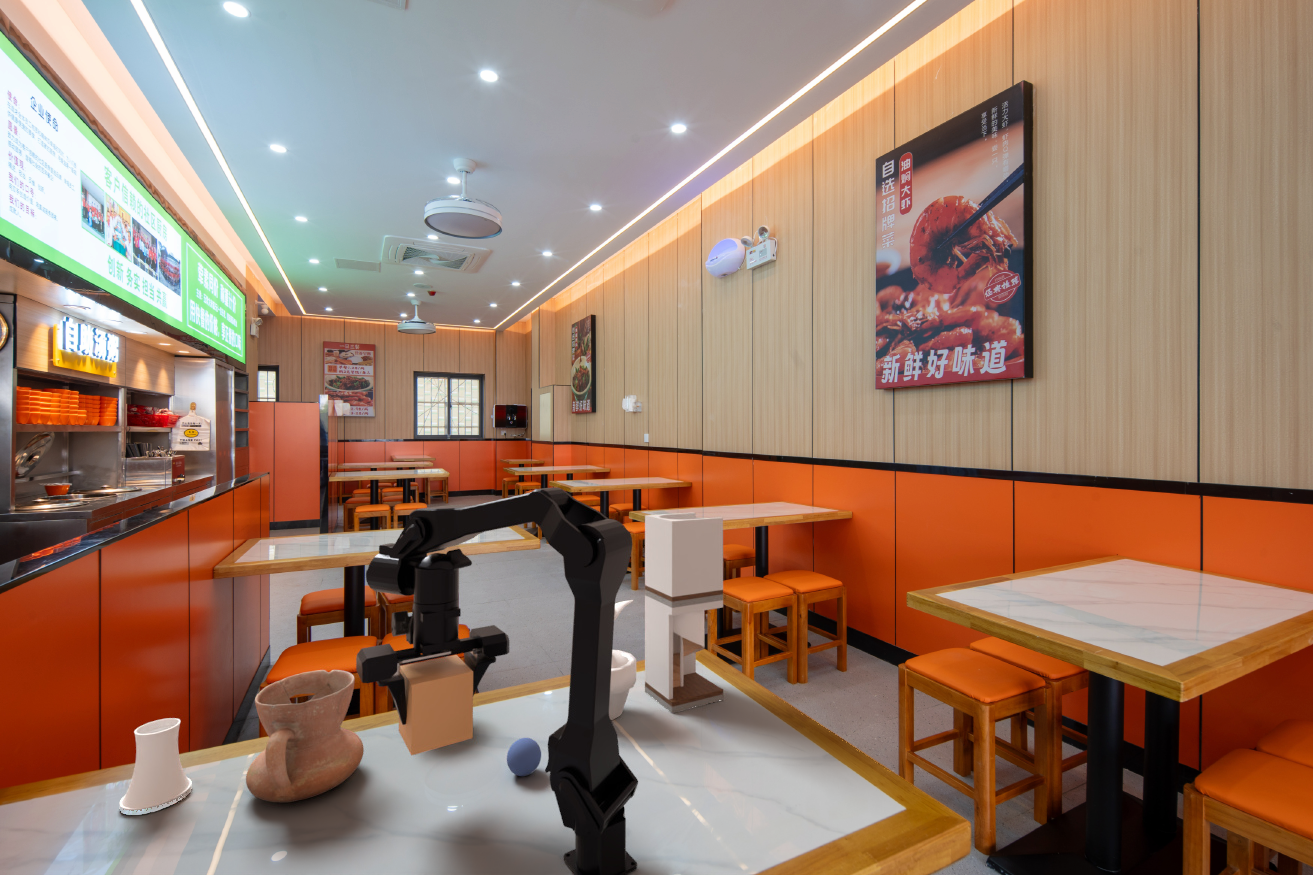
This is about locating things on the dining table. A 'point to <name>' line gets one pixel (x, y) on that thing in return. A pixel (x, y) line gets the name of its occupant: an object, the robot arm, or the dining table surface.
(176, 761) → the vase
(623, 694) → the potted plant
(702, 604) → the white coffee grinder
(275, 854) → the dining table surface
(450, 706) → the tan wooden brick
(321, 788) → the ceramic jug
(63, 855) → the dining table surface
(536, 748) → the ball
